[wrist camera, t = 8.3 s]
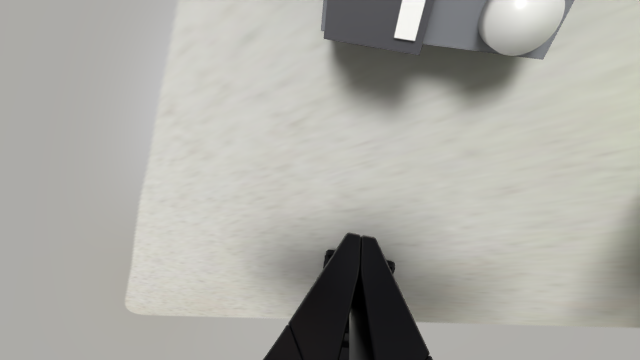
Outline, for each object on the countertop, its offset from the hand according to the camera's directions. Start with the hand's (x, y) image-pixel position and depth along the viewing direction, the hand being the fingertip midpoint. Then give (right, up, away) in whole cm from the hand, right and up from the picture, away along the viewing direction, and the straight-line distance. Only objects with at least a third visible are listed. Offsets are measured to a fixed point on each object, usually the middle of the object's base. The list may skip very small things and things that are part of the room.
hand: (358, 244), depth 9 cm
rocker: (+1, +9, +3) cm, 10 cm away
